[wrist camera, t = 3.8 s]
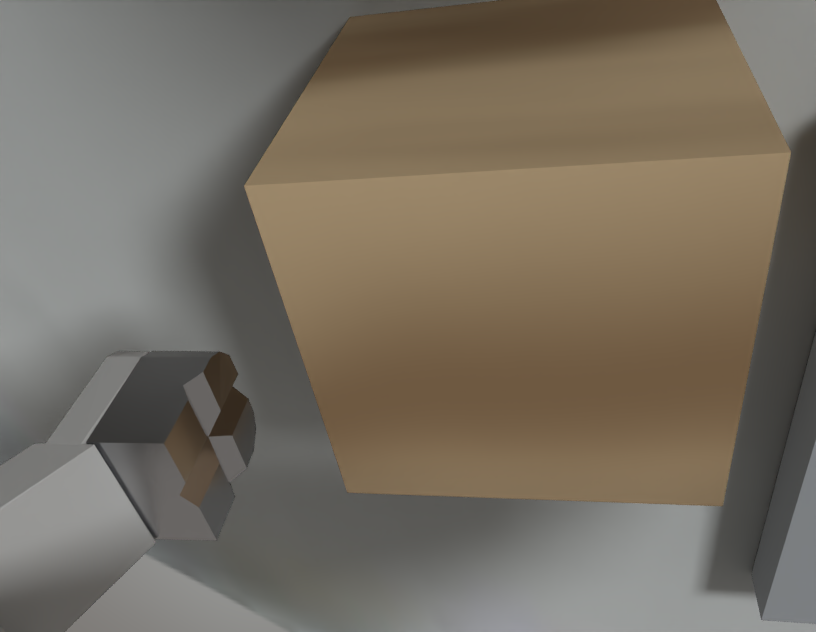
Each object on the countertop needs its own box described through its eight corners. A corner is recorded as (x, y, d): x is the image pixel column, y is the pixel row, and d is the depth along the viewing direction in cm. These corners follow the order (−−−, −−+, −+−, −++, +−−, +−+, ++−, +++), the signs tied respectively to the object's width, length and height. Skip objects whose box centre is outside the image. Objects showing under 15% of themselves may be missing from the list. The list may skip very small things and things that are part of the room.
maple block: (350, 15, 11) (244, 186, 7) (704, -24, 10) (790, 151, 6) (403, 279, 14) (346, 492, 10) (676, 270, 13) (723, 506, 9)
